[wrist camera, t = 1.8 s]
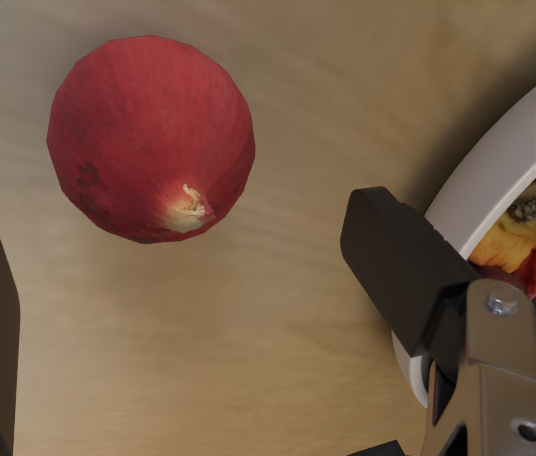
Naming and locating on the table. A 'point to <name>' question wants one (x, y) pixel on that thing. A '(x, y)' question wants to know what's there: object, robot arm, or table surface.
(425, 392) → the bowl
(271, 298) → the table surface
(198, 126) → the onion
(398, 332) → the robot arm
